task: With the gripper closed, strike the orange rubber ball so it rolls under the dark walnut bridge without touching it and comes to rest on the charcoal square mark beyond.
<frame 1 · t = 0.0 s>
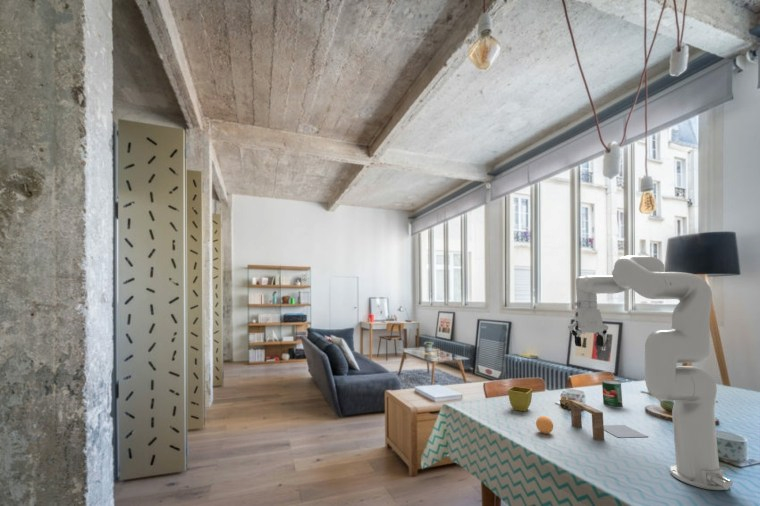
hand: (589, 346, 151), 31 cm above the table, tool pointing down, fingers open, 9 cm apart
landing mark: (621, 431, 139), on the table
ball: (544, 424, 137), on the table
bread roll: (571, 408, 169), on the table
bridge: (587, 432, 138), on the table
canned tomato: (612, 405, 172), on the table
flower pot: (520, 410, 165), on the table
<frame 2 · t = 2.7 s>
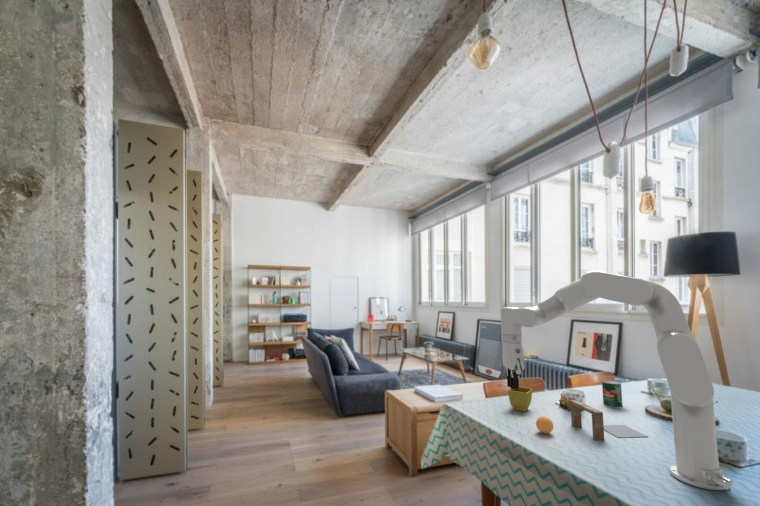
hand: (513, 387, 138), 17 cm above the table, tool pointing down, fingers closed
nothing on the table moved.
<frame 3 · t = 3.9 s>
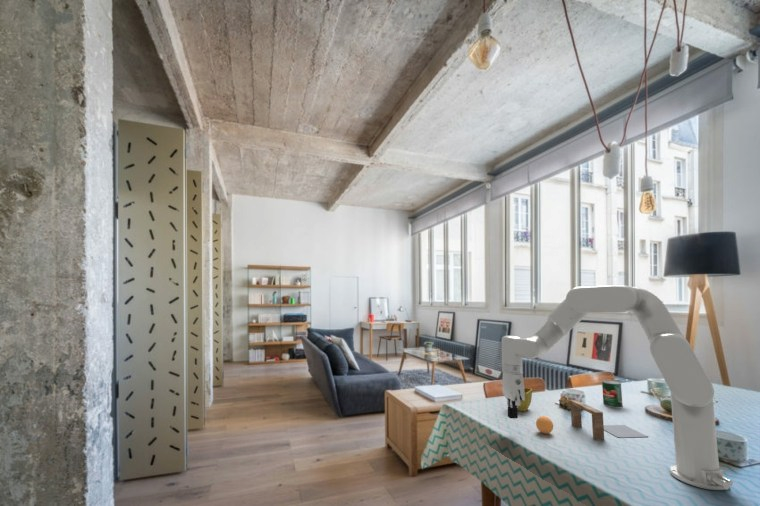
hand: (512, 417, 137), 6 cm above the table, tool pointing down, fingers closed
nothing on the table moved.
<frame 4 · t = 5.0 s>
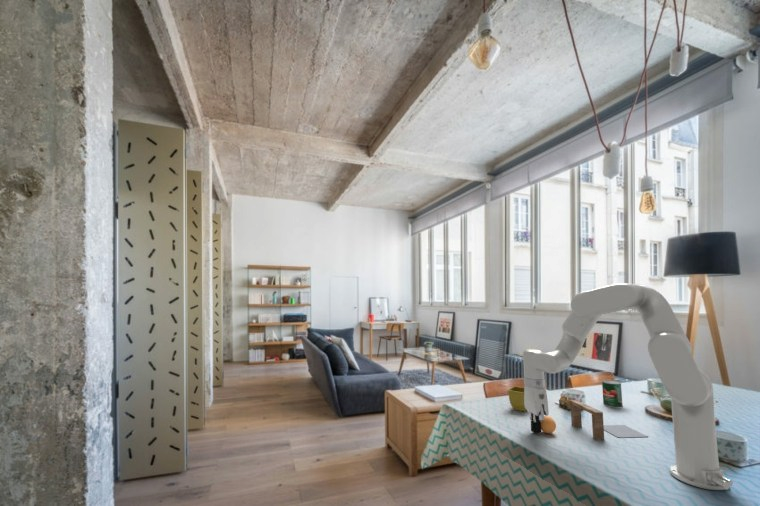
hand: (536, 431, 137), 0 cm above the table, tool pointing down, fingers closed
ball: (547, 424, 137), on the table, touching gripper
everything else where it was.
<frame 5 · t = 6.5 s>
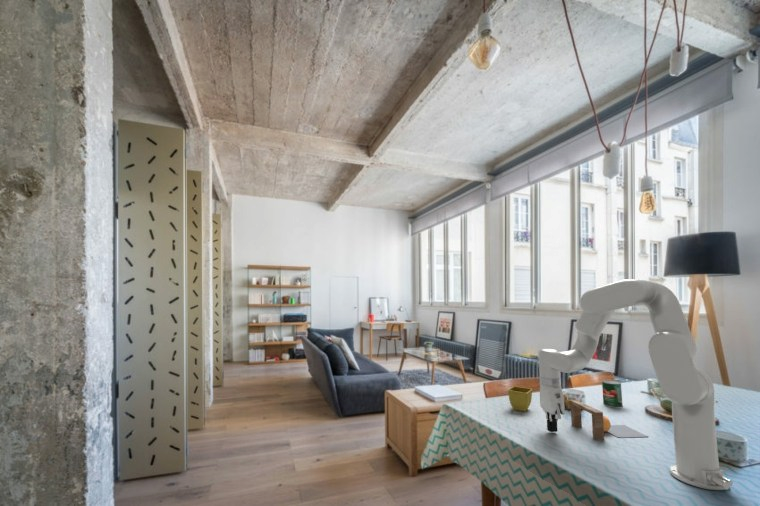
hand: (552, 430, 137), 1 cm above the table, tool pointing down, fingers closed
ball: (601, 423, 139), on the table
everything else where it was.
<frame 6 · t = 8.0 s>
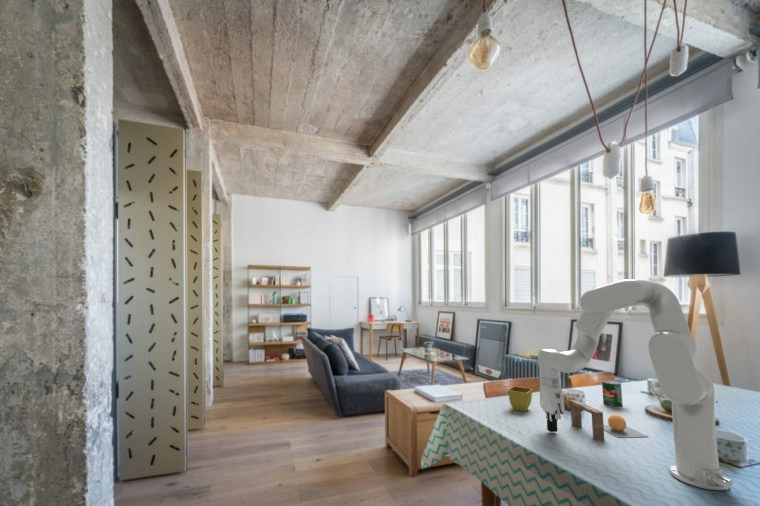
hand: (552, 430, 137), 1 cm above the table, tool pointing down, fingers closed
ball: (617, 422, 140), on the table
everything else where it was.
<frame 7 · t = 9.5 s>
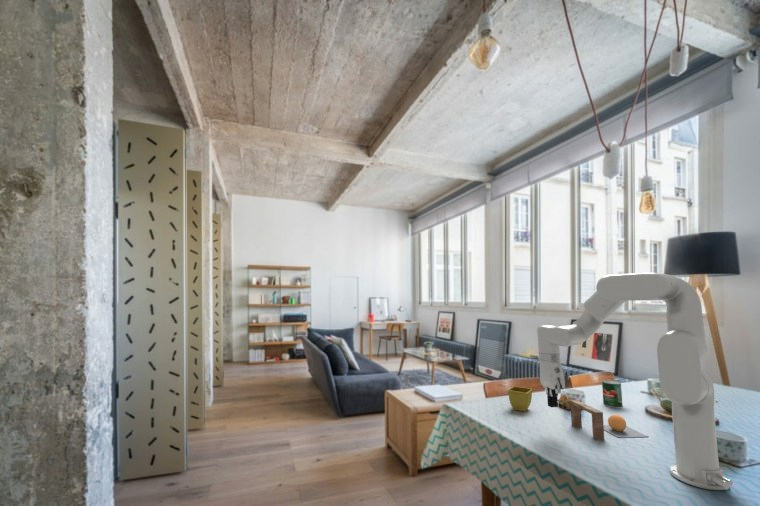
hand: (553, 406, 138), 10 cm above the table, tool pointing down, fingers closed
nothing on the table moved.
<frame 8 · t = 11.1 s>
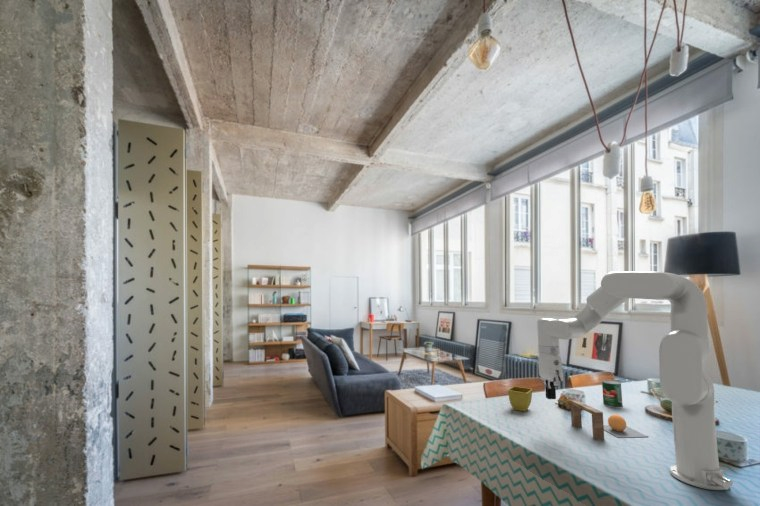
hand: (550, 398, 138), 13 cm above the table, tool pointing down, fingers closed
at the end: ball 1.3 cm from the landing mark (horizontally); ball never touched bridge; ball at rest at the end (0.0 cm/s) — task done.
